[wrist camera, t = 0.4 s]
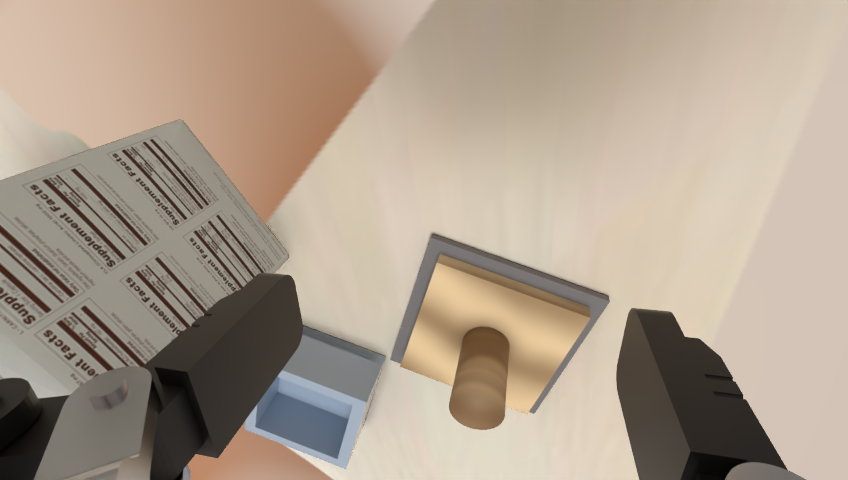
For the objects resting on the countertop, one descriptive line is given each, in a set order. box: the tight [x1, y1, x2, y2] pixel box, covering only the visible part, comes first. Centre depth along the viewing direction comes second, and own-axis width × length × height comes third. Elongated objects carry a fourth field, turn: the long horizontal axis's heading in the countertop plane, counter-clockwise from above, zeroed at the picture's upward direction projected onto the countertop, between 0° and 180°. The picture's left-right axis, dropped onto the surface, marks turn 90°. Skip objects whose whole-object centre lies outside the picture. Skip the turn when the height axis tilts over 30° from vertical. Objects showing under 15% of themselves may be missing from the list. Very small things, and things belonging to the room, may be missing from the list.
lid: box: [400, 254, 591, 430], centre depth 30 cm, size 11×11×7 cm
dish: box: [245, 326, 386, 469], centre depth 38 cm, size 10×10×5 cm
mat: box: [390, 234, 610, 413], centre depth 33 cm, size 13×13×1 cm
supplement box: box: [0, 119, 289, 399], centre depth 28 cm, size 17×13×18 cm
